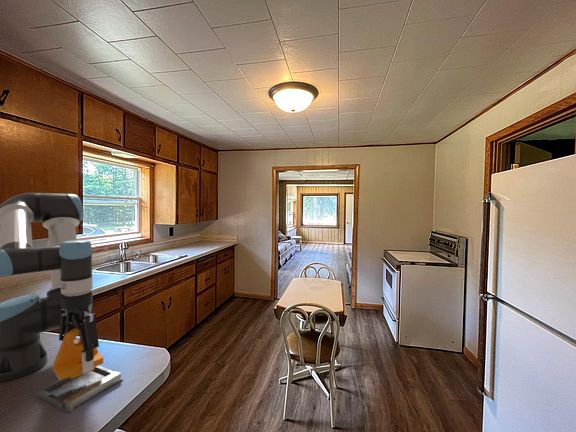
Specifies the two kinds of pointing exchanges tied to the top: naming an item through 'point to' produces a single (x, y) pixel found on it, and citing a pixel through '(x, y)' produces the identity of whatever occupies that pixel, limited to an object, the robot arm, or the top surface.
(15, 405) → the top surface
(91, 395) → the tray
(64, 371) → the bracket
